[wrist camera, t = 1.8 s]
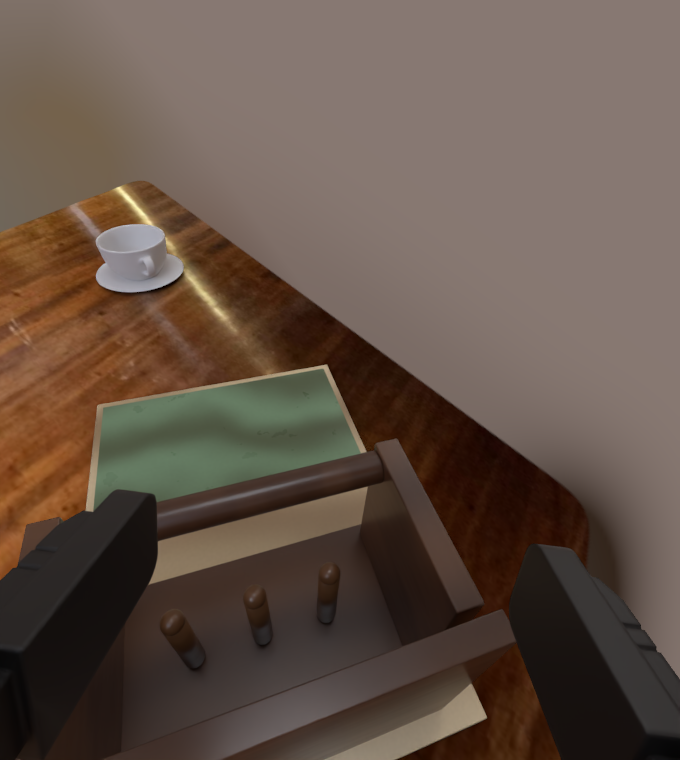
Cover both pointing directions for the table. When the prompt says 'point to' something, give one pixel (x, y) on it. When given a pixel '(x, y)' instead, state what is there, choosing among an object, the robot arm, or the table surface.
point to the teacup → (136, 259)
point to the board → (241, 463)
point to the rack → (290, 629)
